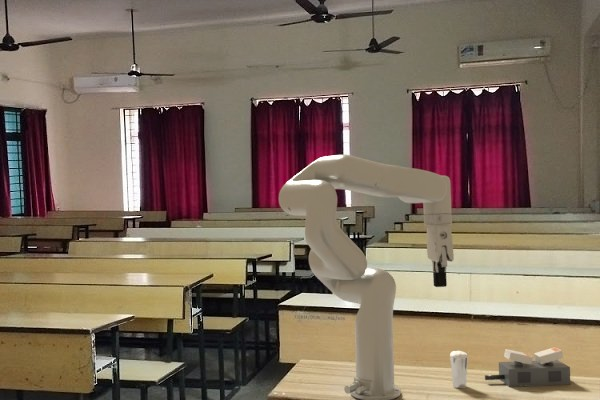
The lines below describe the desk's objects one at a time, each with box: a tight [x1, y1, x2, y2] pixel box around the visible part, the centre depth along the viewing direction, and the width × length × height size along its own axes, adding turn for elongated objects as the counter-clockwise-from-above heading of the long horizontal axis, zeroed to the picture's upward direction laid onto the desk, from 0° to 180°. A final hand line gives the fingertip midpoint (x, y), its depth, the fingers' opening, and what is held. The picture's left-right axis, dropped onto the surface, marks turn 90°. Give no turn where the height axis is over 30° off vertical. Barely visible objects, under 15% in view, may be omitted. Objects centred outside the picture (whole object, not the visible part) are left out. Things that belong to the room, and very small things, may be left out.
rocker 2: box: [533, 346, 564, 364], centre depth 158 cm, size 6×4×2 cm, turn 93°
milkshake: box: [449, 348, 472, 389], centre depth 155 cm, size 4×5×10 cm
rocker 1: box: [503, 348, 534, 364], centre depth 157 cm, size 6×4×2 cm, turn 92°
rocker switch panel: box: [484, 359, 571, 388], centre depth 157 cm, size 21×7×5 cm, turn 92°
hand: (440, 286), depth 166 cm, fingers closed
